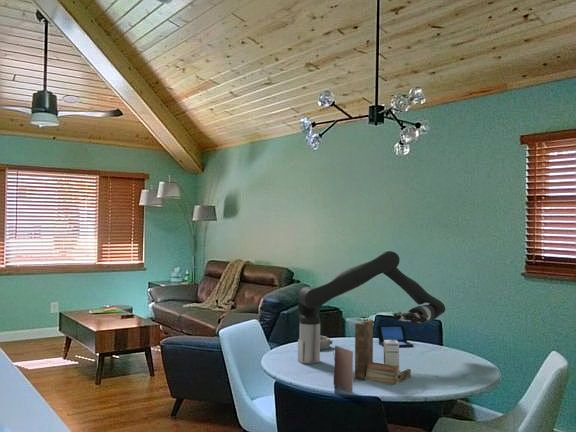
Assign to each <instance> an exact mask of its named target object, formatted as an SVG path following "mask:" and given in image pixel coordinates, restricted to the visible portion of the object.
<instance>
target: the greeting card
mask: <svg viewBox="0 0 576 432" xmlns="http://www.w3.org/2000/svg"><path fill="white" fill-rule="evenodd" d="M332 352H333V357H334V367H333V387H334V389H336V387H338V388H341V389H344V390H346V391H347V392H350V393H353V383H354V382H353V380H354V379H353V378H354V376H353V375H354V374H353V372H354V369H353V368H354V366H353V365H354V359H353V358H354V351H353V350H350V349H346V348H344V347H341V346H338V345H335V346H334V350H332ZM333 392H334V394H336V393H335V391H333Z"/></svg>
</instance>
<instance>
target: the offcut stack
mask: <svg viewBox="0 0 576 432" xmlns="http://www.w3.org/2000/svg"><path fill="white" fill-rule="evenodd" d="M400 372H401V370H400V369H399V370H398V366H393V365H387V364H384V363H380V362H374V361H373V363H370V364H368V365H367V372H366V377H365V381H370V382H375V383H380V384H386V385H389V386H395V385H397V384H399V383H400V382H399V378H398V375H400Z"/></svg>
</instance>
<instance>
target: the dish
mask: <svg viewBox="0 0 576 432" xmlns="http://www.w3.org/2000/svg"><path fill="white" fill-rule="evenodd" d="M333 342H334V341H333V340H332V339H330V337H328V336H324V335H320V350H327V349H329V348H330V346H331V345H332V344H333Z"/></svg>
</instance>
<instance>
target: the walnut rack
mask: <svg viewBox="0 0 576 432" xmlns="http://www.w3.org/2000/svg"><path fill="white" fill-rule="evenodd" d="M354 327H355V329H354V331H355V332H354V333H355V335H354V339H355V341H354V379H355V380H357V381H363V382H364V381H366V372H367V365H368V364H370V363H373V362H374V361H373V360H374V359H373V358H374V354H373V353H374V350H373V349H374V319H368V320H364V321H360V322H356V323H355V326H354ZM411 373H412V369H409V368H406V369H405V370H403V371H400V375H398V378H399V383H401V382H403V381H405V380H407V379H409V378H411V377H412V374H411Z"/></svg>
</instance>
